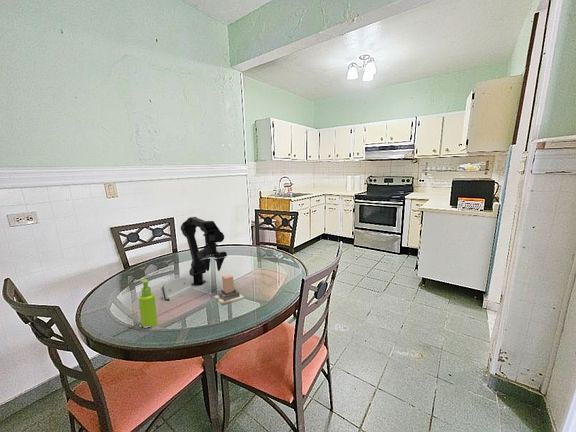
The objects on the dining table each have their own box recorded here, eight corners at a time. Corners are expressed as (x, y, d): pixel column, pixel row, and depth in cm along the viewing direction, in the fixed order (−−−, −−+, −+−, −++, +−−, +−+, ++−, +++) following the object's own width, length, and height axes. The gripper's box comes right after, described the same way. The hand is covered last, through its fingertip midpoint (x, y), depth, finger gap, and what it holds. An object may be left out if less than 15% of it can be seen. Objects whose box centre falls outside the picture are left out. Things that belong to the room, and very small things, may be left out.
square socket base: (214, 297, 134) (213, 291, 134) (234, 291, 141) (234, 285, 141) (222, 305, 124) (221, 298, 124) (244, 298, 131) (243, 292, 131)
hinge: (169, 301, 131) (163, 283, 132) (163, 303, 133) (157, 285, 134) (192, 289, 147) (187, 273, 147) (187, 291, 149) (181, 275, 149)
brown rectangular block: (223, 296, 133) (222, 276, 132) (231, 293, 136) (229, 274, 135) (226, 298, 130) (225, 278, 129) (234, 296, 132) (233, 276, 131)
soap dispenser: (151, 319, 113) (147, 276, 111) (159, 323, 109) (155, 279, 107) (138, 325, 108) (133, 281, 106) (145, 330, 104) (141, 284, 102)
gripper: (188, 245, 139) (190, 274, 138) (209, 243, 129) (212, 273, 128) (204, 244, 148) (207, 270, 147) (226, 241, 138) (229, 269, 137)
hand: (213, 270), depth 139 cm, fingers open, 9 cm apart
